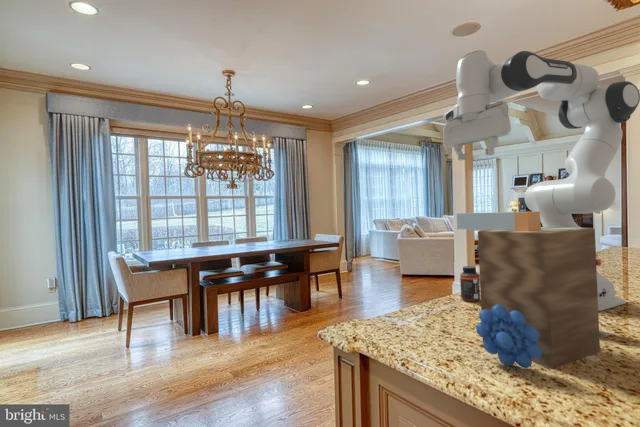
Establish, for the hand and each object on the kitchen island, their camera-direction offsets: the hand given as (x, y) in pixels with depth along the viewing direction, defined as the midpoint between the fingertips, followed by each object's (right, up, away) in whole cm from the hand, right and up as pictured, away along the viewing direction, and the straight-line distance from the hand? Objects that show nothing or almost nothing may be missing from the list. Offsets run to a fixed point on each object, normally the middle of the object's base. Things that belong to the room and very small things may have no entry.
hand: (475, 157), depth 102 cm
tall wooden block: (+4, -46, -23) cm, 51 cm away
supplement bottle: (+6, -46, +18) cm, 49 cm away
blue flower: (-8, -47, -32) cm, 57 cm away
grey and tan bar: (-4, -20, -19) cm, 28 cm away
